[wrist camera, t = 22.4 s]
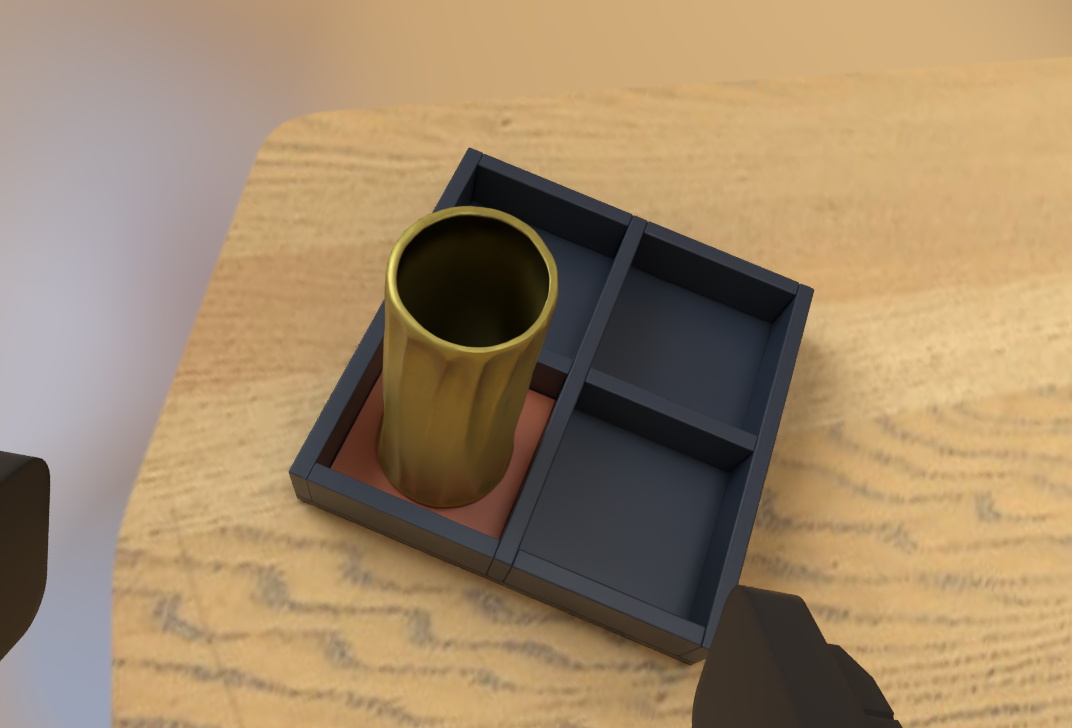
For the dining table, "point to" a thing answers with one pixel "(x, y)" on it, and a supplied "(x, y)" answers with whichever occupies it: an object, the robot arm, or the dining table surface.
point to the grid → (600, 423)
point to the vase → (460, 350)
